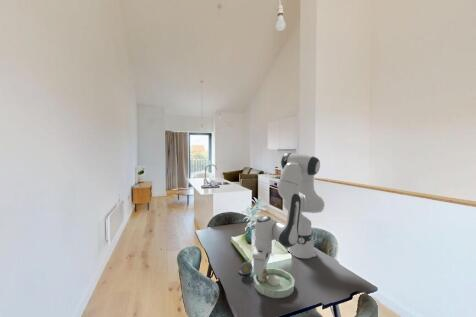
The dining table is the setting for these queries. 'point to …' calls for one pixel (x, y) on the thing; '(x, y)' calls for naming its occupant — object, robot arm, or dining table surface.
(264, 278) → the bead
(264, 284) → the groove tray
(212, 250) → the dining table surface
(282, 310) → the dining table surface
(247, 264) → the pocket watch
